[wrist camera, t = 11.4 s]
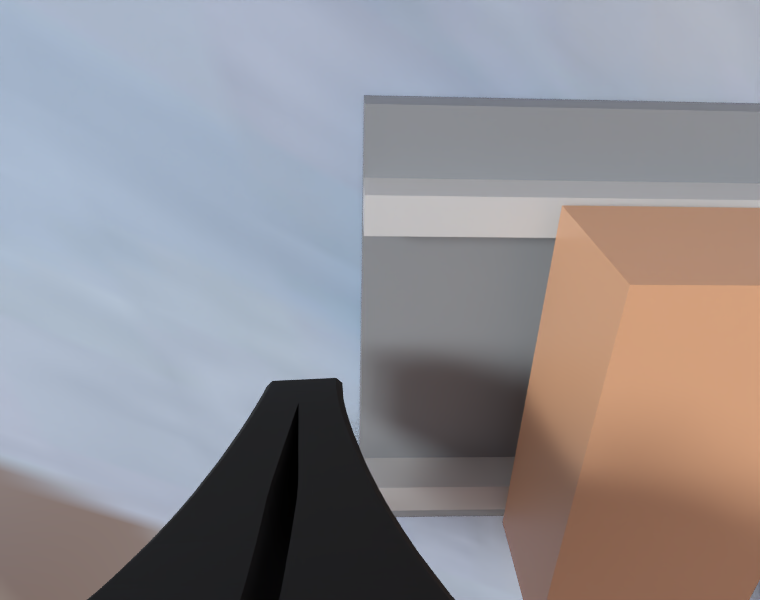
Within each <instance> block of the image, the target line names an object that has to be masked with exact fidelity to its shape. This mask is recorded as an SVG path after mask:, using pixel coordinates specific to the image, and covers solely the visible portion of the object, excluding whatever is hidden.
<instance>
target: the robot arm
mask: <svg viewBox="0 0 760 600" xmlns="http://www.w3.org/2000/svg"><path fill="white" fill-rule="evenodd" d="M87 600H455V599H454V598H453V597H452V596H451V595H450V593H449V592H448V591H447V589H446V588H445V587H444V585H443V584H442V583H441V581H440V580H439V579H438V578H437V576H436V575H435V574H434V572H433V571H432V570H431V568H430V567H429V566H428V564H427V563H426V562H425V561H424V559H423V558H422V557H421V555H420V554H419V553H418V551H417V550H416V548H415V547H414V545H413V544H412V542H411V541H410V539H409V538H408V536H407V535H406V533H405V532H404V530H403V529H402V527H401V526H400V524H399V522H398V521H397V519H396V518H395V516H394V514H393V513H392V511H391V509H390V508H389V506H388V504H387V503H386V501H385V499H384V497H383V495H382V494H381V492H380V490H379V488H378V486H377V484H376V482H375V480H374V478H373V476H372V474H371V472H370V470H369V468H368V466H367V464H366V462H365V460H364V458H363V455H362V453H361V450H360V448H359V446H358V443H357V441H356V438H355V436H354V433H353V431H352V428H351V425H350V422H349V419H348V415H347V412H346V408H345V404H344V399H343V387H342V382H340V381H339V380H338V379H337V378H326V379H305V380H283V381H272V382H271V383H270V384H269V385H268V386H267V387H266V389H265V391H264V393H263V395H262V396H261V398H260V400H259V402H258V403H257V405H256V407H255V408H254V410H253V411H252V413H251V415H250V416H249V418H248V419H247V421H246V422H245V424H244V426H243V427H242V429H241V430H240V432H239V433H238V434H237V436H236V437H235V439H234V440H233V442H232V443H231V444H230V446H229V447H228V449H227V450H226V452H225V453H224V454H223V456H222V457H221V459H220V460H219V461H218V463H217V464H216V465H215V467H214V468H213V469H212V470H211V472H210V473H209V474H208V475H207V477H206V478H205V479H204V481H203V482H202V483H201V484H200V486H199V487H198V488H197V489H196V491H195V492H194V493H193V494H192V496H191V497H190V498H189V499H188V500H187V502H186V503H185V504H184V505H183V506H182V507H181V508H180V510H179V511H178V512H177V513H176V514H175V515H174V516H173V518H172V519H171V520H170V521H169V522H168V523H167V524H166V525H165V526H164V527H163V528H162V529H161V530H160V531H159V533H158V534H157V535H156V536H155V537H154V538H153V539H152V540H151V541H150V542H149V543H148V544H147V545H146V546H145V547H144V548H143V549H142V550H141V551H140V552H139V553H138V554H137V555H136V556H135V557H134V558H133V559H132V560H131V561H130V562H128V563H127V564H126V565H125V566H124V567H123V568H122V569H121V570H120V571H119V572H118V573H117V574H116V575H115V576H114V577H113V578H112V579H110V580H109V581H108V582H107V583H106V584H105V585H104V586H103V587H102V588H100V589H99V590H98V591H97V592H96V593H95V594H93V595H92V596H91V597H90V598H89V599H87Z"/></svg>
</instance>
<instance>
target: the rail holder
mask: <svg viewBox="0 0 760 600" xmlns="http://www.w3.org/2000/svg"><path fill="white" fill-rule="evenodd" d="M562 205H571V206H652V207H732V208H760V104H753V103H705V102H657V101H609V100H562V99H514V98H466V97H418V96H370V95H364V140H363V213H362V287H361V360H360V434H359V448H360V450H361V453H362V455H363V458H364V460H365V462H366V464H367V466H368V468H369V470H370V472H371V474H372V476H373V478H374V480H375V482H376V484H377V486H378V488H379V490H380V492H381V494H382V495H383V497H384V499H385V501H386V503H387V504H388V506H389V508H390V509H391V511H392V513H393V514H394V516H395V517H432V516H504V512H505V507H506V502H507V496H508V491H509V486H510V480H511V475H512V470H513V464H514V459H515V454H516V448H517V443H518V438H519V432H520V427H521V422H522V416H523V411H524V406H525V400H526V395H527V390H528V384H529V379H530V373H531V368H532V363H533V357H534V352H535V347H536V341H537V336H538V331H539V325H540V320H541V315H542V309H543V304H544V299H545V293H546V288H547V283H548V277H549V272H550V267H551V261H552V256H553V251H554V245H555V240H556V234H557V229H558V224H559V218H560V213H561V208H562Z"/></svg>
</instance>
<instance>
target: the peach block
mask: <svg viewBox="0 0 760 600" xmlns="http://www.w3.org/2000/svg"><path fill="white" fill-rule="evenodd" d="M503 526H504V529H505V533H506V537H507V541H508V544H509V548H510V552H511V556H512V559H513V563H514V567H515V571H516V574H517V578H518V582H519V586H520V589H521V593H522V597H523V600H749V599H750V597H751V595H752V593H753V591H754V590H755V588H756V586H757V584H758V582H759V580H760V208H732V207H652V206H571V205H562V208H561V213H560V218H559V224H558V229H557V234H556V240H555V245H554V251H553V256H552V261H551V267H550V272H549V277H548V283H547V288H546V293H545V299H544V304H543V309H542V315H541V320H540V325H539V331H538V336H537V341H536V347H535V352H534V357H533V363H532V368H531V373H530V379H529V384H528V390H527V395H526V400H525V406H524V411H523V416H522V422H521V427H520V432H519V438H518V443H517V448H516V454H515V459H514V464H513V470H512V475H511V480H510V486H509V491H508V496H507V502H506V507H505V512H504V518H503Z"/></svg>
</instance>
